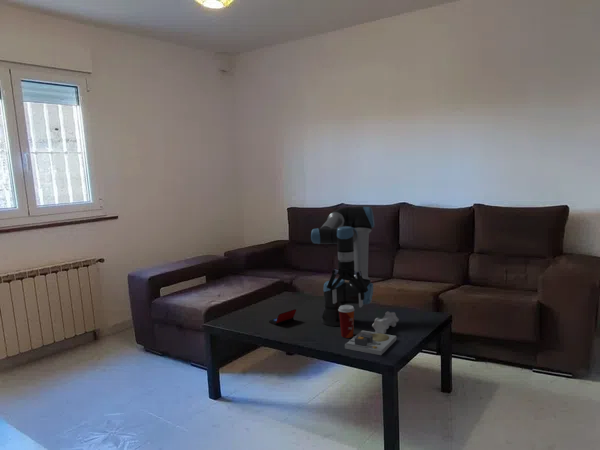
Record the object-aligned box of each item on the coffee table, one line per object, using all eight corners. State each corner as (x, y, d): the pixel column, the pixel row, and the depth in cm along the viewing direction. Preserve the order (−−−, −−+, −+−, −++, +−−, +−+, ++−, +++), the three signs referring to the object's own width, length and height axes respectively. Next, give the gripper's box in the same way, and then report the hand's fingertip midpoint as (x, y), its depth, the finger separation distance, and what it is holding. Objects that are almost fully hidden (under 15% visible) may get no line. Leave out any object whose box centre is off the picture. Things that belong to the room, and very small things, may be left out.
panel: (344, 348, 214) (344, 338, 213) (362, 334, 231) (362, 324, 230) (381, 355, 205) (380, 344, 204) (396, 339, 221) (396, 330, 221)
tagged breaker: (354, 344, 212) (354, 337, 212) (357, 342, 215) (357, 335, 214) (364, 346, 210) (364, 339, 209) (367, 344, 212) (367, 337, 212)
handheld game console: (285, 317, 263) (285, 304, 262) (297, 321, 255) (296, 308, 254) (268, 322, 255) (267, 309, 254) (279, 327, 247) (278, 314, 246)
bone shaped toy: (385, 325, 244) (383, 310, 243) (400, 326, 239) (398, 311, 238) (372, 334, 232) (370, 318, 232) (387, 335, 227) (385, 319, 226)
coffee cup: (354, 339, 225) (353, 309, 223) (338, 338, 227) (337, 309, 225) (356, 332, 233) (355, 304, 231) (340, 332, 235) (339, 304, 233)
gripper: (318, 260, 214) (320, 303, 217) (367, 263, 201) (369, 310, 204) (326, 256, 220) (328, 299, 223) (374, 260, 207) (375, 305, 210)
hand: (347, 304), depth 213 cm, fingers open, 13 cm apart
